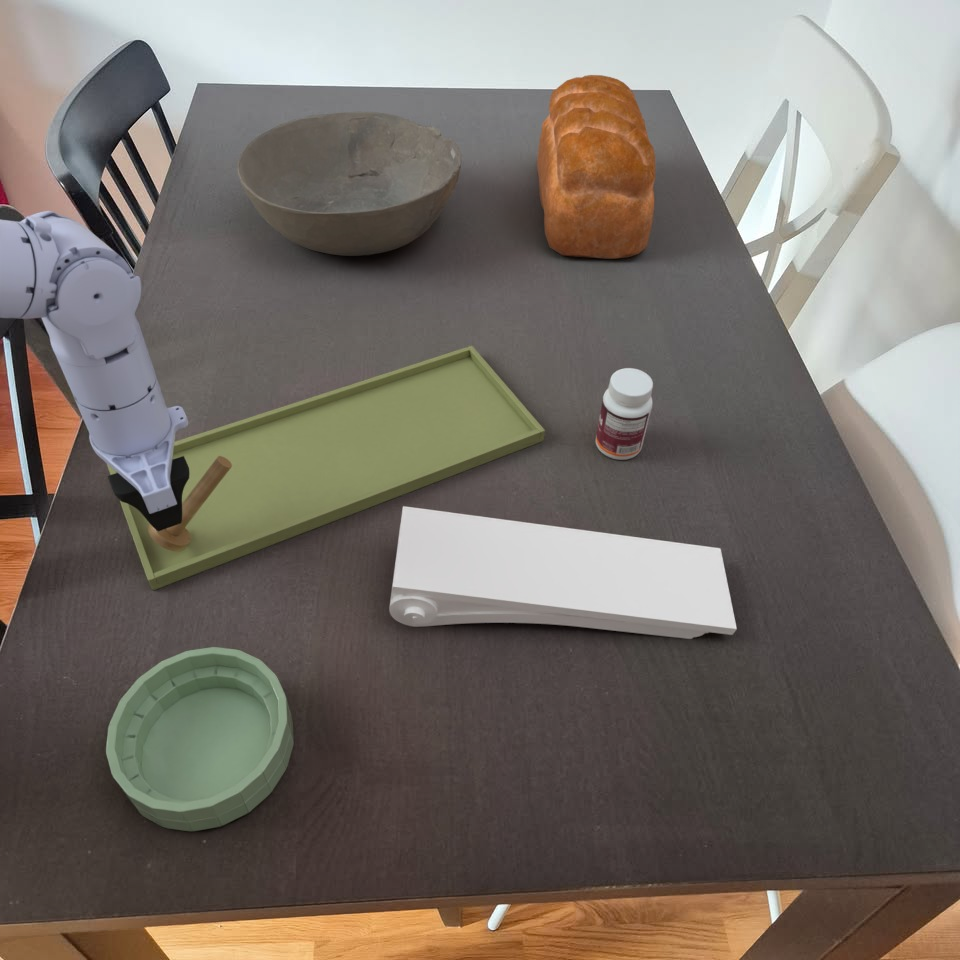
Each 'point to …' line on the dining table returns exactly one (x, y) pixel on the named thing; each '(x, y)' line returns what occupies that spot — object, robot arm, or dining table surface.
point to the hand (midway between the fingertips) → (162, 507)
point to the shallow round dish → (201, 738)
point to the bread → (596, 170)
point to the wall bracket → (554, 577)
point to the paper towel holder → (191, 507)
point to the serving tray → (338, 458)
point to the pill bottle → (624, 414)
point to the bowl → (350, 180)
